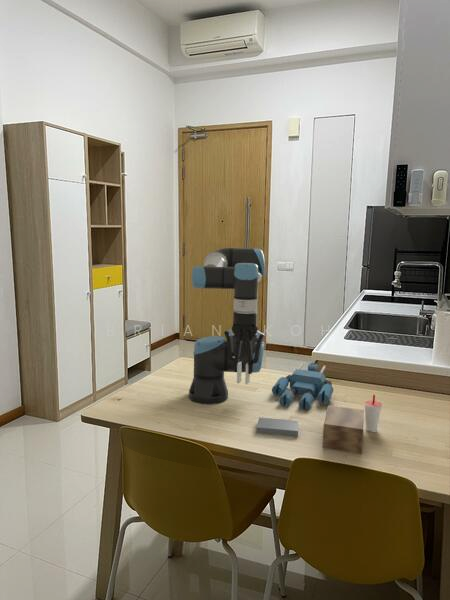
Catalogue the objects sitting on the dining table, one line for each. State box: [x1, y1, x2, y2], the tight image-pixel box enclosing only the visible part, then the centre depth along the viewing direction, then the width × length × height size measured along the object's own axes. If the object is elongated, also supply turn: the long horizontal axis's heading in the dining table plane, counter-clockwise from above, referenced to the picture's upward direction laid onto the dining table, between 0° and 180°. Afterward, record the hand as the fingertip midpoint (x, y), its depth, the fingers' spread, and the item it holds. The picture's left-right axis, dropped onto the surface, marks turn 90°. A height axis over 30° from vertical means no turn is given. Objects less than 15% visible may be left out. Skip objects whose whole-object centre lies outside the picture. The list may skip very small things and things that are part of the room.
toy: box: [271, 362, 334, 411], centre depth 178 cm, size 22×9×30 cm
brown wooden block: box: [322, 405, 365, 455], centre depth 140 cm, size 11×15×8 cm
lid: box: [256, 417, 299, 438], centre depth 146 cm, size 13×8×2 cm, turn 80°
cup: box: [364, 394, 383, 433], centre depth 147 cm, size 5×5×12 cm
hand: (243, 382), depth 148 cm, fingers open, 2 cm apart
